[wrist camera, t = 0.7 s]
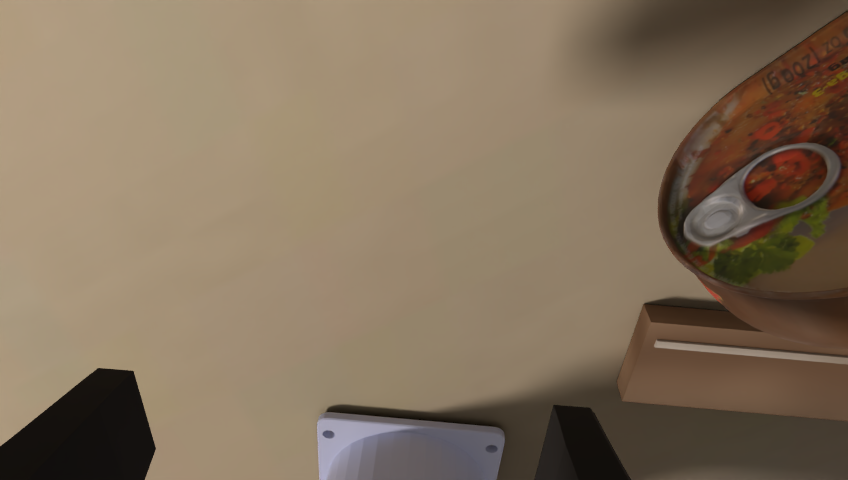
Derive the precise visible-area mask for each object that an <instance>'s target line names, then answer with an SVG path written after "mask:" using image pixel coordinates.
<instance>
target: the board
mask: <svg viewBox="0 0 848 480" xmlns="http://www.w3.org/2000/svg"><path fill="white" fill-rule="evenodd" d="M617 385H618V388H619V392H620V395H621V399H622V401H625V402H636V403H648V404H659V405H670V406H681V407H693V408H704V409H715V410H727V411H738V412H749V413H760V414H772V415H783V416H794V417H805V418H817V419H828V420H839V421H848V349H834V348H823V347H817V346H811V345H806V344H801V343H796V342H792V341H788V340H785V339H781V338H778V337H776V336H773V335H771V334H768V333H765V332H763V331H761V330H759V329H757V328H755V327H753V326H751V325H749V324H747V323H746V322H744V321H742V320H741V319H739V318H738V317H736V316H735V315H734V314H732V313H731V312H729V311H717V310H706V309H694V308H683V307H672V306H660V305H649V304H644V305H643V307H642V310H641V313H640V316H639V319H638V322H637V325H636V328H635V330H634V333H633V336H632V339H631V342H630V345H629V348H628V351H627V353H626V356H625V359H624V362H623V365H622V368H621V371H620V374H619V376H618V379H617Z"/></svg>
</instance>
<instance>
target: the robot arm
mask: <svg viewBox="0 0 848 480" xmlns="http://www.w3.org/2000/svg"><path fill="white" fill-rule="evenodd" d="M328 430H329V431H328ZM317 435H318V458H319V480H497V475H498V471H499V466H500V462H501V457H502V453H503V448H504V443H505V436H504V432H503V430H501V429H500V428H497V427H491V426H480V425H469V424H457V423H446V422H435V421H424V420H413V419H401V418H390V417H379V416H368V415H357V414H345V413H334V412H325V413H323V414H321V415H320V416H319V419H318V423H317ZM155 450H156V448H155V444H154V441H153V437H152V434H151V430H150V427H149V423H148V420H147V417H146V413H145V410H144V406H143V403H142V399H141V396H140V392H139V389H138V385H137V382H136V378H135V375H134V371H128V370H115V369H103V368H98V369H97V370H95V371H94V372H93V373H91V374H90V375H89V376H88V377H86V378H85V379H84V380H83V381H81V382H80V383H79V384H78V385H76V386H75V387H74V388H73V389H71V390H70V391H69V392H68V393H66V394H65V395H64V396H63V397H61V398H60V399H59V400H58V401H56V402H55V403H54V404H53V405H52V406H50V407H49V408H48V409H47V410H45V411H44V412H43V413H42V414H40V415H39V416H38V417H37V418H35V419H34V420H33V421H32V422H30V423H29V424H28V425H27V426H25V427H24V428H23V429H22V430H21V431H19V432H18V433H17V434H16V435H14V436H13V437H12V438H10V439H9V440H8V441H7V442H5V443H4V444H3V445H2V446H0V480H145V477H146V474H147V472H148V469H149V466H150V463H151V461H152V458H153V455H154V452H155ZM535 480H631V479H630V477H629V476H628V474H627V472H626V470H625V469H624V467H623V465H622V463H621V462H620V460H619V458H618V456H617V454H616V453H615V451H614V449H613V447H612V445H611V444H610V442H609V440H608V438H607V436H606V434H605V432H604V431H603V429H602V427H601V425H600V423H599V421H598V419H597V417H596V415H595V413H594V412H593V411H592V410H591V409H590V408H584V407H572V406H559V405H554V406H553V409H552V413H551V417H550V421H549V425H548V429H547V433H546V437H545V441H544V445H543V449H542V452H541V456H540V460H539V464H538V468H537V472H536V476H535Z"/></svg>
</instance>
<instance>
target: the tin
mask: <svg viewBox="0 0 848 480" xmlns="http://www.w3.org/2000/svg"><path fill="white" fill-rule="evenodd" d="M658 220H659V227H660V230H661V233H662V235H663V239H664V240H665V242H666V244H667V246H668V248H669V249H670V251H671V252H672V254H673V255H674V256H675V257H676V258H677V260H678V261H679V262H680V263H682V264H683V265H684V266H685V267H686V268H687V269H689V270H690V271H691V272H693V273H694V274H695V275H696V276H697V277H698V279H699V280H700V281H701V282H702V284H703V285H704V286H705V287H706V289H707V290H708V291H709V292H710V293H711V294H712V295H713V296H714V297H715V299H716V300H717V301H718V302H719V303H721V304H722V305H723V306H724V307H725V308H726V309H727V310H729V311H730V312H731V313H732V314H734V315H735V316H736V317H738V318H739V319H741V320H742V321H744V322H746V323H747V324H749V325H751V326H753V327H755V328H757V329H759V330H761V331H763V332H765V333H768V334H771V335H773V336H776V337H778V338H781V339H785V340H788V341H792V342H796V343H801V344H806V345H811V346H817V347H823V348H834V349H848V11H847V12H845V13H844V14H842V15H841V16H840V17H838V18H837V19H835V20H834V21H832V22H831V23H829V24H827V25H826V26H824V27H823V28H821V29H820V30H819V31H817V32H816V33H814V34H813V35H811V36H810V37H809V38H807V39H806V40H804V41H803V42H801V43H800V44H798V45H797V46H795V47H794V48H792V49H791V50H790V51H788V52H787V53H785V54H784V55H782V56H781V57H779V58H778V59H776V60H775V61H773V62H772V63H771V64H769V65H768V66H766V67H765V68H763V69H762V70H760V71H759V72H758V73H756V74H755V75H753V76H752V77H750V78H749V79H747V80H746V81H744V82H743V83H742V84H740V85H739V86H737V87H736V88H735V89H733V90H732V91H731V92H729V93H728V94H727V95H726V96H724V97H723V98H722V99H721V100H720V101H719V102H718V103H716V104H715V105H714V106H713V107H712V108H711V109H710V110H709V111H708V112H707V113H706V114H705V115H704V116H703V117H702V118H701V119H700V120H699V121H698V123H697V124H696V125H695V126H694V127H693V128H692V130H691V131H690V132H689V133H688V135H687V136H686V137H685V138H684V140H683V141H682V143H681V144H680V145H679V147H678V149H677V150H676V152H675V153H674V155H673V157H672V159H671V161H670V163H669V165H668V167H667V169H666V172H665V174H664V177H663V180H662V184H661V187H660V191H659V197H658Z"/></svg>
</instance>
